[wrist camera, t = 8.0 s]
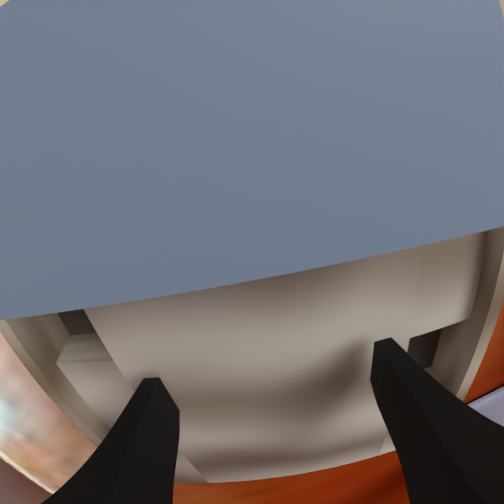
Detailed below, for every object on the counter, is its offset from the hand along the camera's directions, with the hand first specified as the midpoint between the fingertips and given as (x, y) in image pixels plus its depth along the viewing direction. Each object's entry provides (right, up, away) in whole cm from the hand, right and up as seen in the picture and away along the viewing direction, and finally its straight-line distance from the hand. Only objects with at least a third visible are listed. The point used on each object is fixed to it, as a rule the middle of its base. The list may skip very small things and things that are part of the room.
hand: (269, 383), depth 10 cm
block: (-2, +8, -3) cm, 9 cm away
